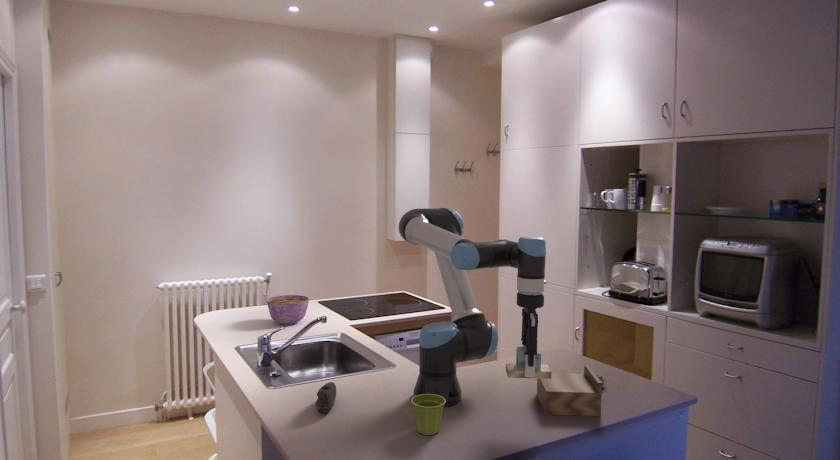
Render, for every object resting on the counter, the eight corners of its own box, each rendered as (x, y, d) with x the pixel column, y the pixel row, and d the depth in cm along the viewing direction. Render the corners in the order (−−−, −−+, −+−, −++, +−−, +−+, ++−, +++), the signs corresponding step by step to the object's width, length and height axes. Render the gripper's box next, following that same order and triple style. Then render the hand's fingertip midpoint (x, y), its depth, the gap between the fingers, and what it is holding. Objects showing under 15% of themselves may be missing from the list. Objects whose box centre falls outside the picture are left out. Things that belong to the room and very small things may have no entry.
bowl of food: (259, 327, 254) (258, 302, 253) (277, 316, 274) (277, 294, 273) (300, 329, 251) (299, 304, 250) (315, 318, 271) (315, 295, 270)
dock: (545, 414, 160) (546, 381, 159) (536, 393, 176) (537, 363, 175) (600, 416, 159) (602, 382, 159) (587, 395, 175) (588, 364, 174)
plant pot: (409, 423, 153) (410, 393, 153) (443, 422, 154) (443, 393, 154) (412, 439, 144) (412, 407, 143) (447, 438, 145) (447, 406, 144)
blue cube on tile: (507, 377, 152) (508, 353, 151) (505, 370, 158) (506, 346, 157) (551, 378, 151) (552, 354, 151) (547, 371, 157) (548, 347, 157)
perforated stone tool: (325, 396, 173) (324, 375, 172) (341, 397, 172) (341, 375, 172) (312, 416, 158) (312, 393, 157) (330, 417, 157) (330, 394, 157)
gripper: (550, 299, 143) (547, 385, 145) (538, 285, 162) (536, 361, 164) (521, 299, 143) (518, 384, 145) (513, 285, 162) (511, 360, 164)
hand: (528, 372), depth 155 cm, fingers closed on blue cube on tile, 6 cm apart
